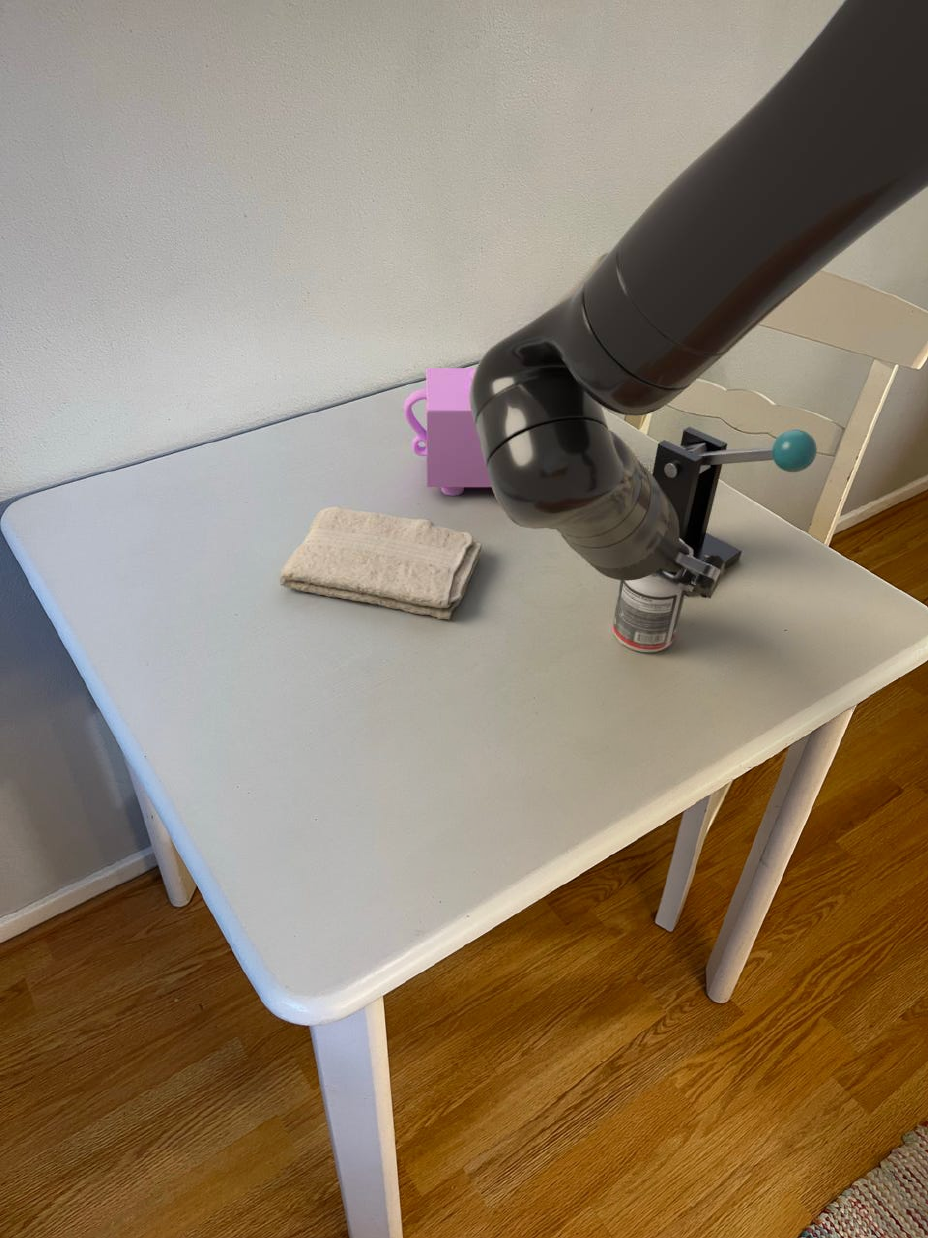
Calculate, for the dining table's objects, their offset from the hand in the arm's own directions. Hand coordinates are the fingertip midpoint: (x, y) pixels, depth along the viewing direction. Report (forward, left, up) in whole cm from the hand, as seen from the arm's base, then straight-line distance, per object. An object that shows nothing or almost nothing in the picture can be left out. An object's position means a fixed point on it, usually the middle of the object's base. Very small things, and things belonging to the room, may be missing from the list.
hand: (662, 570), depth 80 cm
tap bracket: (+6, -10, -6) cm, 13 cm away
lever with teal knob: (0, -10, +6) cm, 12 cm away
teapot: (+29, -7, -6) cm, 30 cm away
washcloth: (+23, +14, -6) cm, 27 cm away
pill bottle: (0, +2, -6) cm, 7 cm away
